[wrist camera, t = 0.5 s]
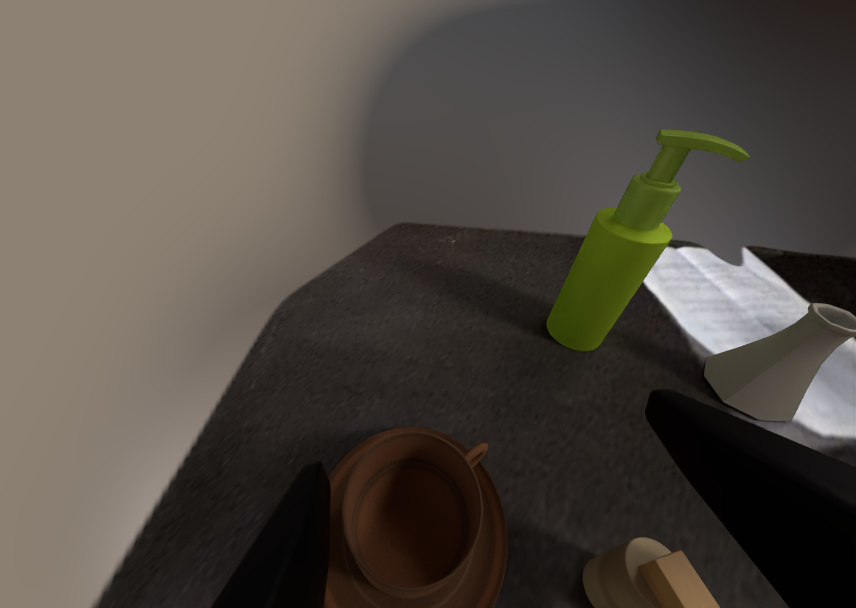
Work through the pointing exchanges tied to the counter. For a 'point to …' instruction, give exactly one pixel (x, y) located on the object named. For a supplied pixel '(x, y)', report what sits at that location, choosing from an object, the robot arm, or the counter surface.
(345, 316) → the counter surface
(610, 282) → the soap dispenser
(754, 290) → the counter surface
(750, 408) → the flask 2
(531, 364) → the counter surface
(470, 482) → the cup and saucer
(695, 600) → the brown bracket-shaped piece
